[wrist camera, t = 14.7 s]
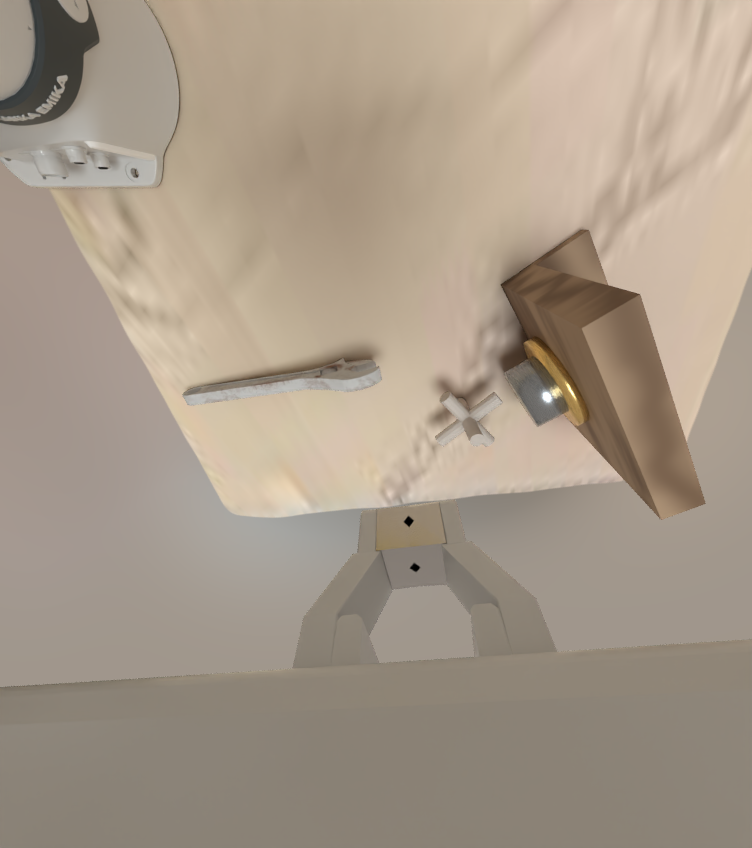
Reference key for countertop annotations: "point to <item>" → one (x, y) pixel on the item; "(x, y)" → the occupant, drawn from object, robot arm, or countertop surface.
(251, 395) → the wrench
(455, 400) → the pipe connector
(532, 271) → the board
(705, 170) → the countertop surface
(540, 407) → the door knob
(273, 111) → the countertop surface
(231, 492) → the countertop surface
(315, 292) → the countertop surface
